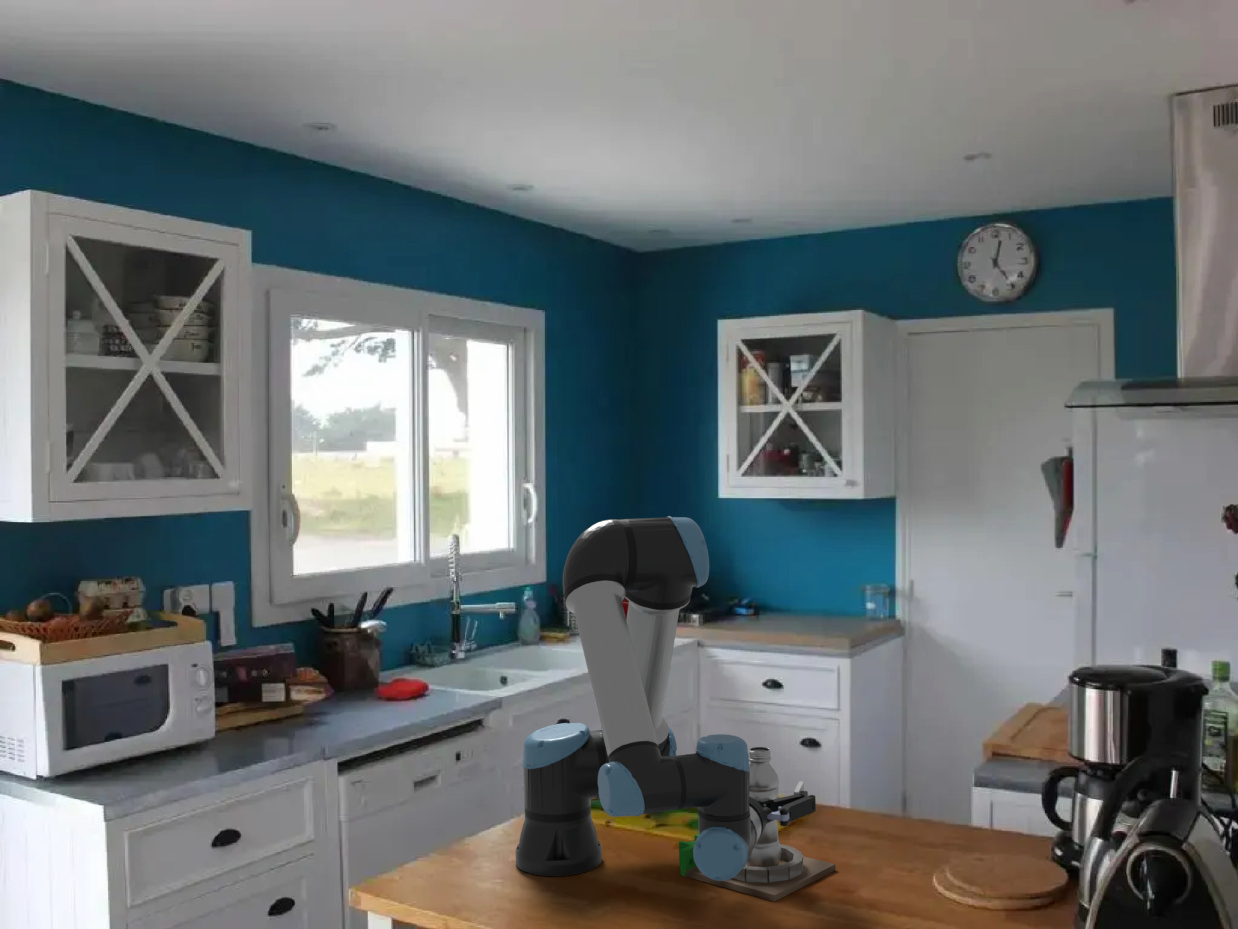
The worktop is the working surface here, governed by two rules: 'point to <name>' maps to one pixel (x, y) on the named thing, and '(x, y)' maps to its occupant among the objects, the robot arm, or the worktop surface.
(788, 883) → the ring board
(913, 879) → the worktop surface
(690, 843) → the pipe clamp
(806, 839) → the worktop surface
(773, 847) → the plastic bottle
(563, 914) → the worktop surface
